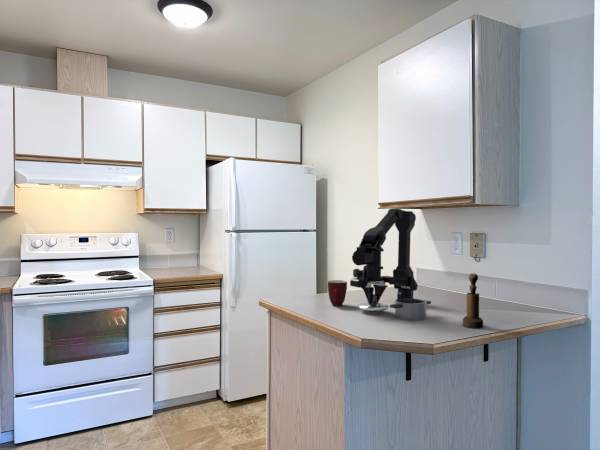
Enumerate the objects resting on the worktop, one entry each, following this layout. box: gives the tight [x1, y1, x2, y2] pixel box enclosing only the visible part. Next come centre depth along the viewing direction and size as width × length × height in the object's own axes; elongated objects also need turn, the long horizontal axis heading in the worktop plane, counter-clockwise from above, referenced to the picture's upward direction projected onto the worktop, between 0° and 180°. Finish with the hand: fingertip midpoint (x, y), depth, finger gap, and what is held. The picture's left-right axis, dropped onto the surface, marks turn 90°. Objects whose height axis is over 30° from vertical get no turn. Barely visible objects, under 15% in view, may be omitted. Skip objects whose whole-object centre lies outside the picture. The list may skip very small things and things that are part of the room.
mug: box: [327, 279, 348, 307], centre depth 179 cm, size 10×8×10 cm
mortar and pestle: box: [462, 272, 484, 329], centre depth 147 cm, size 7×6×18 cm
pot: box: [389, 298, 432, 322], centre depth 159 cm, size 18×11×6 cm, turn 121°
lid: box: [357, 293, 389, 312], centre depth 167 cm, size 12×12×5 cm
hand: (373, 303), depth 167 cm, fingers closed on lid, 3 cm apart
